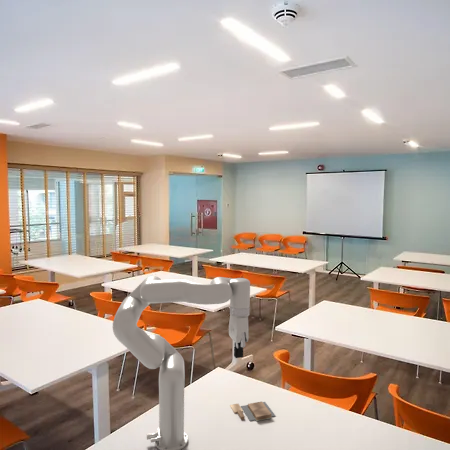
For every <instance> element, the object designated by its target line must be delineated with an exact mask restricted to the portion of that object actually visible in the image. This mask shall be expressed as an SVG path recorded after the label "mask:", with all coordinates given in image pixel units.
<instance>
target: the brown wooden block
mask: <svg viewBox="0 0 450 450" xmlns="http://www.w3.org/2000/svg"><path fill="white" fill-rule="evenodd" d="M263 402H264V401H256V402H250V403H248V404H247V405H248V409H249V410H250V412H251V414H252V415H253V417H254V418H255V420H254V421H256V422H257V421H263V420H268V419H272V417H271V416H272V414H271V413H270V411H269V410H268V409H267V407H266V406H265V405H264V403H263Z"/></svg>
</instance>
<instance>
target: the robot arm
mask: <svg viewBox="0 0 450 450" xmlns="http://www.w3.org/2000/svg"><path fill="white" fill-rule="evenodd" d="M250 298H251V281H250V280H249V279H248V278H245V277H237V278H236V277H235V278H232V277H231V278H230V277H224V276H217V277H214V278H213V279H212V280H211V282H210V284H209V283H206V284H205V283H197V282H192V281H190V280H188V279H184V278H174V279H170V278H169V279H161V278H160V277H158V276H154V275H152V276H147V277H146V278H145V279H144V280H142V282H140V284H138V286H136V287H135V288H134V289H133V290H132V291H131V292H130V293H129V294H128V295H127V296H126V297H124V299H123V300H122V302H121V304H120V305H119V307H118V309H117V311H116V312H115V315H114V319H113V322H112V331H113V334H114V337H115V338H116V339H117V341H118V342H119V343H121V344H122V346H124V347H125V348H126V349H127V350H128V351H129V352H130V353H131V354H132V356H134V357H135V358H136V359H137V360H138V361H139V362H140V363H141V364H142V365H143V366H144V367H146V368H147V369H149V370H155V369H159V373H158V405H159V407H158V411H159V412H158V414H159V415H158V423H159V424H158V428H157V431H154V432H152V433H147V434H146V440H150V444H151V443H154V445H155V447H156V448H157V449H158V450H182V449H184V448H185V447H186V446H187V444H188V440H189V435H188V434H187V432H185V382H186V381H185V380H186V379H185V377H186V375H185V359H184V358H183V356H182V354H181V353H179V351H178V350H177V349H176V348H175V347H174V346H172V345H171V344H170V342H169V341H167V340H166V339H165V337H163V336H161V335H159V334H152V333H151V334H149V335H148V333H146V331H144V329H142V328H140V327H139V326H138V323H139V320H140V317H141V315H142V313H143V311H144V310H145V309H147V307H149V305H151V304H166V303H167V304H168V303H187V304H193V305H194V304H195V305H205V306H206V305H219V304H220V305H221V304H224V303H227V302H229V315H230V316H229V320H228V321H229V322H228V335H229V337H230V338H231V339H232V341H233V356H234V358H235V359H239V358H243V357H244V348H245V347H246V343H247V342H249V316H250V310H251V309H250V305H251V304H250V303H251V301H250V300H251V299H250Z"/></svg>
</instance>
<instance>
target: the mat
mask: <svg viewBox="0 0 450 450" xmlns="http://www.w3.org/2000/svg"><path fill="white" fill-rule="evenodd" d="M262 402H263V403H264V405H265V406H266V407H267V409H268V410H269V411H270V413H271V414H272V416H271V418H273V417H276V414H275V412H273V410H272V409H271V408H270V406H269V405H268V404H267V402H266V401H262ZM240 407H241V409H242V410H243V412H244V413H243V414H245V416H246V418H247V419H248V420H249V422H253V421H256V420H255V418H254V417H253V415H252V414H251V412H250V410H249V409H248V404H244V405H241V406H240Z"/></svg>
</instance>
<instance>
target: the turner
mask: <svg viewBox="0 0 450 450" xmlns="http://www.w3.org/2000/svg"><path fill="white" fill-rule="evenodd" d="M229 407H230V409H231V410H232V412H233V413H234V414H237V415H238V417H239V418H240V420H241V421H242V420H245V419H246V418H245V416H246V415H244V413H243V412H244V411H243V409H242V408H241V406H240V404H239V403H234V404H230V405H229Z"/></svg>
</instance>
